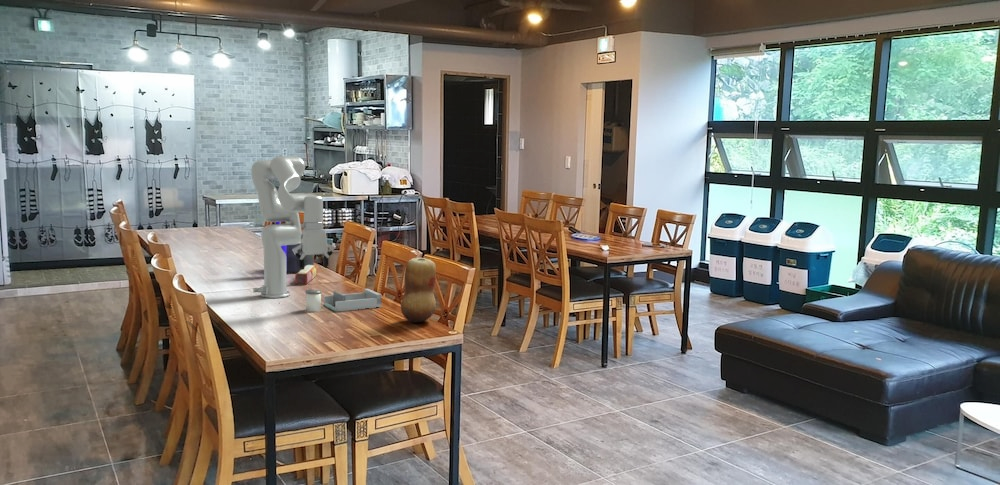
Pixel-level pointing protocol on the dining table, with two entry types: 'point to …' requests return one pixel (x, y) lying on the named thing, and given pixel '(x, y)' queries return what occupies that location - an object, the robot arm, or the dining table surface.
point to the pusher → (338, 297)
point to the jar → (313, 300)
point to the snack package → (306, 275)
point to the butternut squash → (419, 290)
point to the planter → (296, 259)
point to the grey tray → (355, 301)
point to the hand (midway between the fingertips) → (313, 268)
